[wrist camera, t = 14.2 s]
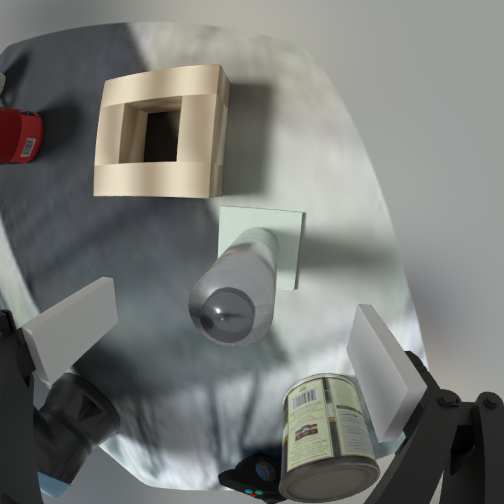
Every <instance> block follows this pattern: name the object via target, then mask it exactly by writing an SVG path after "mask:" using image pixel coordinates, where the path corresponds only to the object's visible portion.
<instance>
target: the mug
mask: <svg viewBox="0 0 504 504" xmlns="http://www.w3.org/2000/svg"><path fill="white" fill-rule="evenodd" d="M5 79H6V78H5V75H4V74H1V73H0V95H1V93H2V90H3V88H4V85H5Z"/></svg>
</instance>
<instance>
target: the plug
mask: <svg viewBox="0 0 504 504" xmlns="http://www.w3.org/2000/svg"><path fill="white" fill-rule="evenodd" d="M278 259H279V244H278V241H277V239H276V237H275V236H274V235H273V234H272V233H271V232H270V231H268V230H267V229H264V228H261V227H252V228H249V229H247V230H245V231H243V232H242V233H241V234H240V235H239V236H238V237H237V238H236V240H235V241H234V242H233V243H232V244H231V245H230V246H229V247H228V248H227V249H226V251H225V252H224V253H223V254H222V255H221V256H220V257H219V258H218V259H217V261H216V262H215V263H214V264H213V265H212V266H211V267H210V268H209V269H208V271H207V272H206V273H205V274H204V275H203V276H202V277H201V278H200V279H199V281H198V282H197V283H196V284H195V286H194V287H193V289H192V291H191V294H190V297H189V312H190V316H191V319H192V321H193V323H194V325H195V326H196V328H197V329H198V330H199V331H200V332H201V333H202V334H203V335H204V336H205V337H206V338H208V339H209V340H211V341H213V342H215V343H217V344H220V345H223V346H228V347H242V346H247V345H250V344H252V343H254V342H256V341H258V340H259V339H261V338H262V337H263V336H264V335H265V334H266V333H267V331H268V330H269V328H270V326H271V323H272V320H273V314H274V304H275V293H276V282H277V270H278Z"/></svg>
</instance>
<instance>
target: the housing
mask: <svg viewBox="0 0 504 504" xmlns="http://www.w3.org/2000/svg"><path fill="white" fill-rule="evenodd" d="M229 93H230V81H229V80H228V78H227V76H226V74H225V72H224V70H223V69H222V67H221V65H220V64H210V65H197V66H186V67H177V68H169V69H162V70H156V71H150V72H144V73H139V74H134V75H129V76H124V77H120V78H115V79H111V80H107V81H105V86H104V91H103V97H102V103H101V109H100V116H99V124H98V132H97V142H96V154H95V170H94V196H162V197H192V198H213V197H218V196H222V184H223V168H224V153H225V140H226V127H227V115H228V104H229ZM169 111H181V116H180V126H179V137H178V150H177V162H145V163H143V162H144V148H145V137H146V127H147V118H148V113H158V112H169Z"/></svg>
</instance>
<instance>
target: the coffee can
mask: <svg viewBox="0 0 504 504" xmlns="http://www.w3.org/2000/svg"><path fill="white" fill-rule="evenodd" d="M379 476H380V469H379V466H378V465H377V463H376V458H375V455H374V451H373V447H372V443H371V440H370V436H369V432H368V429H367V425H366V422H365V418H364V415H363V411H362V408H361V405H360V401H359V398H358V395H357V389H356V387H355V385H354V384H353V382H352V381H350V380H349V379H347V378H345V377H343V376H340V375H336V374H318V375H313V376H310V377H307V378H305V379H302V380H300V381H299V382H297V383H295V384H294V385H293V386H292V387H291V388H290V389H289V390H288V391H287V392H286V394H285V396H284V399H283V441H282V466H281V481H280V483H279V492H280V494H281V495H282V496H284V497H285V498H287V499H290V500H293V501H297V502H303V503H323V502H330V501H336V500H340V499H344V498H347V497H350V496H353V495H355V494H358V493H360V492H362V491H364V490H365V489H367V488H369V487H370V486H371V485H373V484H374V483H375V482H376V481H377V480H378V478H379Z"/></svg>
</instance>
